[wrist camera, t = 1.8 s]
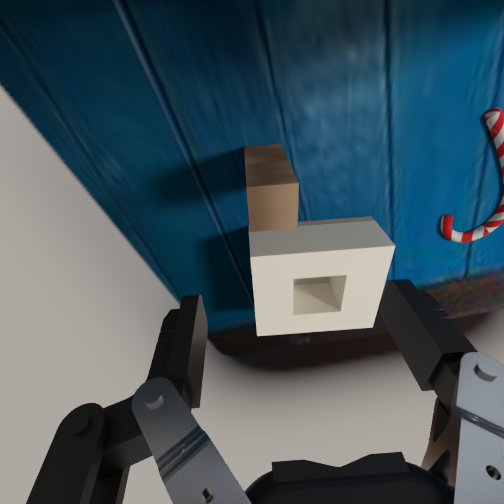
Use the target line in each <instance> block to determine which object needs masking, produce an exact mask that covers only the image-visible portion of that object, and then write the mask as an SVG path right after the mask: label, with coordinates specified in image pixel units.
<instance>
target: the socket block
mask: <svg viewBox="0 0 504 504" xmlns="http://www.w3.org/2000/svg"><path fill="white" fill-rule="evenodd" d="M249 243H250V260H251V271H252V282H253V293H254V304H255V315H256V327H257V336H266V335H279V334H292V333H305V332H318V331H331V330H345V329H358V328H371V327H373V324H374V321H375V317H376V313H377V310H378V306H379V303H380V299H381V295H382V292H383V288H384V285H385V281H386V278H387V274H388V270H389V267H390V263H391V260H392V256H393V252H394V249H395V245H394V243H393V242H392V241H391V240H390V239H389V237H388V236H387V235H386V234H385V232H384V231H383V230H382V229H381V227H380V226H379V225H378V224H377V223H376V221H375V220H374V219H373V218H372V216H366V217H354V218H341V219H328V220H316V221H303V222H298V225H297V228H295V229H282V230H269V231H256V232H250V226H249Z"/></svg>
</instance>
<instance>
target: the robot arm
mask: <svg viewBox="0 0 504 504" xmlns="http://www.w3.org/2000/svg"><path fill="white" fill-rule="evenodd" d="M380 313H381V317H382V319H383V321H384V323H385V325H386V326H387V328H388V330H389V332H390V334H391V335H392V337H393V339H394V341H395V343H396V345H397V346H398V348H399V350H400V351H401V354H402V355H403V357H404V359H405V361H406V363H407V364H408V366H409V368H410V370H411V372H412V374H413V375H414V377H415V379H416V381H417V382H418V384H419V386H420V388H421V390H422V391H428V390H434V391H435V393H436V394H437V396H438V397H437V398H436V401H435V406H434V413H433V419H432V425H431V431H430V437H429V443H428V447H427V451H426V454H425V456H424V459H423V461H422V465H421V467H419V466H417V465H414V464H411V463H408V462H406V461H405V459H404V457H403V454H402V452H393V453H381V454H370V455H367V456H365V457H362V458H360V459H358V460H356V461H354V462H351V463H349V464H347V465H344V466H342V467H334V466H329V465H325V464H321V463H316V462H312V461H307V460H293V461H280V462H272V471H270V472H268V473H266V474H264V475H262V476H261V477H259V478H258V479H257V480H256V481H254V482H253V483H252V484H251V485H250V486H249V487H248V488H247V489H246V491H245V492H244V491H243V489H242V488H241V486H240V485H239V483H238V481H237V480H236V478H235V477H234V475H233V474H232V472H231V471H230V469H229V467H228V466H227V464H226V463H225V461H224V460H223V458H222V456H221V455H220V453H219V452H218V450H217V449H216V447H215V446H214V444H213V443H212V441H211V439H210V438H209V436H208V435H207V434H206V432H205V431H203V430H202V429H201V427H200V426H199V424H198V423H197V422H196V420H195V418H194V417H193V415H192V413H191V409H192V408H199V407H200V398H201V389H202V379H203V369H204V360H205V359H204V358H205V350H206V340H207V318H206V314H205V309H204V305H203V301H202V297H201V295H191V296H183V297H182V300H181V305H180V309H171V310H170V311H169V313H168V314H167V315H166V317H165V318H164V320H163V323H162V327H161V332H160V334H159V337H158V342H157V345H156V349H155V352H154V356H153V359H152V363H151V367H150V370H149V374H148V377H147V380H146V381H145V383H143V384H142V385H141V386H140V387H139V388H138V389H137V391H136V392H135V394H134V395H133V396H131V397H129V398H127V399H125V400H123V401H120V402H118V403H115V404H113V405H110V406H108V407H105V408H102V407H101V406H100V405H99V404H96V403H87V404H84V405H81V406H79V407H77V408H75V409H74V410H73V411H71V412H70V413H69V414H68V415H67V416H66V417H65V418H64V419H63V420H62V422H61V423H60V425H59V427H58V429H57V431H56V434H55V436H54V439H53V441H52V443H51V446H50V448H49V450H48V453H47V455H46V457H45V460H44V462H43V465H42V467H41V469H40V472H39V474H38V476H37V479H36V481H35V483H34V486H33V488H32V491H31V493H30V495H29V498H28V500H27V503H26V504H122V502H123V498H124V493H125V488H126V484H127V479H128V474H129V469H130V466H131V465H133V464H135V463H137V462H140V461H142V460H144V459H146V458H148V457H150V456H152V455H153V456H154V459H155V461H156V463H157V466H158V468H159V473H160V476H161V478H162V481H163V483H164V485H165V487H166V489H167V492H168V494H169V496H170V498H171V500H172V502H173V504H504V365H503V364H502V363H500V362H499V361H498V360H496V359H494V358H492V357H491V356H488V355H486V354H483V353H479V352H478V351H477V350H476V349H475V348H474V347H473V345H472V344H471V343H470V342H469V340H468V339H467V338H466V337H465V335H463V333H462V332H461V331H460V329H459V328H458V327H457V326H456V324H455V323H454V322H453V321H452V319H450V318H449V316H448V314H447V313H446V312H445V311H443V308H442V307H441V306H440V305H439V303H438V302H437V301H436V300H435V298H433V297H432V296H430V295H429V294H427V293H426V292H425V291H423V290H417V288H416V287H415V286H414V285H413V283H412V282H411V281H410V280H409V279H399V280H389V281H388V282H387V284H386V287H385V291H384V294H383V297H382V301H381V305H380Z"/></svg>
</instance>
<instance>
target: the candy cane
mask: <svg viewBox="0 0 504 504" xmlns="http://www.w3.org/2000/svg"><path fill="white" fill-rule="evenodd" d="M485 120H486V123H487V126H488V128H489V130H490V133H491V135H492V138H493V140H494V143H495V146H496V149H497V152H498V156H499V160H500V164H501V169H502V174H503V182H504V114H503V112H502V110H501V109H500V108H493V109H491V110H490V111H489V112H487V114H486V115H485ZM452 221H453V216H452V215H450V214H446V215H443V216H442V219H441V231H442V233H443V235H444V236H445V237H446V238H448V239H449V240H452V241H455V242H469V241H473V240H476V239H479V238H481V237H483V236H485V235H487V234H489V233H490V232H492V231H493V230H494V229H496V228H497V227H498V226H499V225H500V224H501V223H502V222H503V221H504V189H503V196H502V200H501V203H500V205H499V207H498V209H497V211H496V212H495V213H494V215H493V216H492V217H491V218H490V219H489V220H488V221H487V222H485V223H484V224H483V225H481V226H479V227H478V228H476V229H473V230H471V231H467V232H456V231H454V230H453V229H452Z"/></svg>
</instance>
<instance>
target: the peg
mask: <svg viewBox="0 0 504 504" xmlns="http://www.w3.org/2000/svg"><path fill="white" fill-rule="evenodd" d="M244 152H245V170H246V188H247V200H248V211H249V223H250V232H256V231H269V230H282V229H295V228H297V225H298V193H299V182H298V180H297V178H296V176H295V174H294V172H293V169H292V167H291V165H290V163H289V161H288V159H287V156H286V154H285V152H284V150H283V148H282V146H281V144H269V145H257V146H244Z"/></svg>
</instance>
